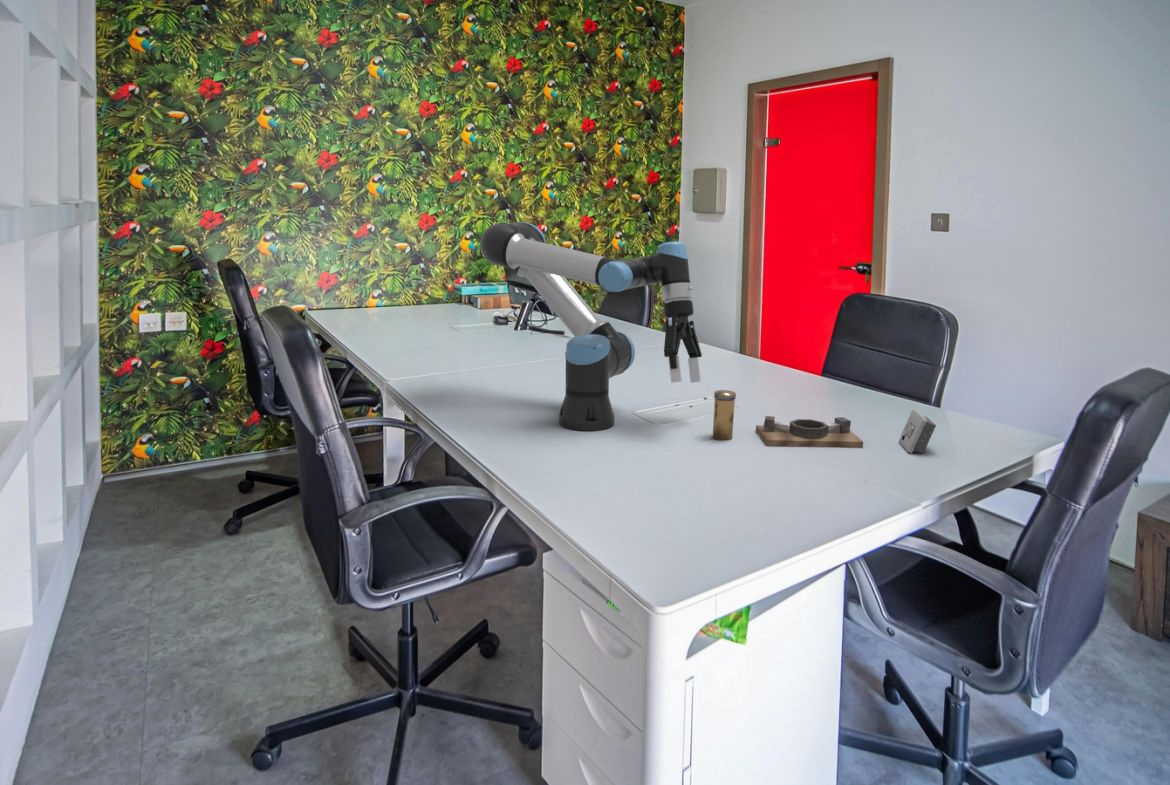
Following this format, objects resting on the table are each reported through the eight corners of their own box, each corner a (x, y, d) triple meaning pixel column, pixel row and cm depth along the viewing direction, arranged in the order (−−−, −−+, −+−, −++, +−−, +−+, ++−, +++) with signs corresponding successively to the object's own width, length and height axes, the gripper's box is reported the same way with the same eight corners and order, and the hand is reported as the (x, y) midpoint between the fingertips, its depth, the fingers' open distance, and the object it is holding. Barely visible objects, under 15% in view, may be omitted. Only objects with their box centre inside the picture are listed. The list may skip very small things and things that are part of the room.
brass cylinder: (708, 438, 199) (710, 392, 196) (717, 433, 203) (720, 388, 200) (727, 442, 196) (730, 396, 193) (736, 437, 200) (739, 392, 197)
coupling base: (766, 445, 193) (768, 427, 192) (755, 430, 206) (756, 413, 205) (862, 447, 193) (864, 429, 192) (845, 432, 206) (847, 415, 205)
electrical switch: (897, 442, 198) (905, 408, 196) (918, 445, 198) (926, 410, 195) (908, 454, 189) (916, 418, 187) (929, 457, 188) (938, 421, 186)
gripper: (672, 294, 190) (682, 380, 189) (707, 303, 212) (716, 380, 211) (645, 299, 194) (654, 383, 193) (682, 307, 216) (690, 383, 215)
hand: (686, 382), depth 202 cm, fingers open, 13 cm apart
